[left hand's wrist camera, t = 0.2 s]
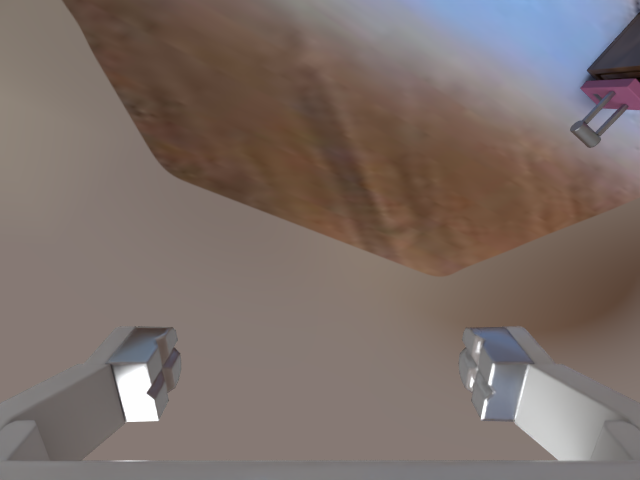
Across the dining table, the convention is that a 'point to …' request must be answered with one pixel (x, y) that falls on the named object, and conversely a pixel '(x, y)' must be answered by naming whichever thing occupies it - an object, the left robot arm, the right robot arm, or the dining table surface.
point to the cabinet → (620, 53)
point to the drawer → (608, 102)
